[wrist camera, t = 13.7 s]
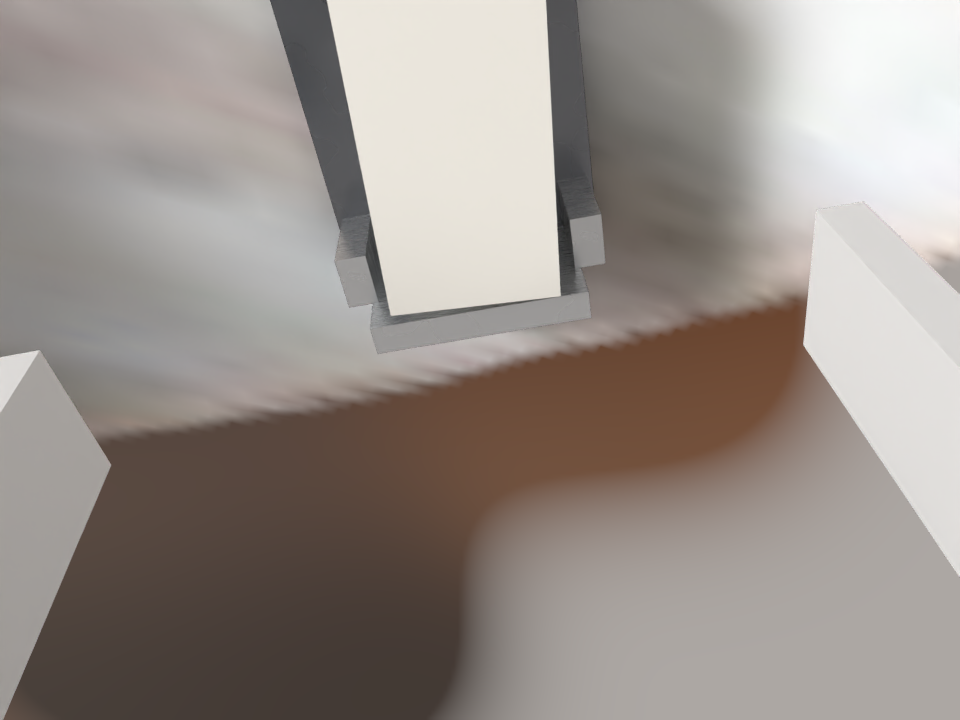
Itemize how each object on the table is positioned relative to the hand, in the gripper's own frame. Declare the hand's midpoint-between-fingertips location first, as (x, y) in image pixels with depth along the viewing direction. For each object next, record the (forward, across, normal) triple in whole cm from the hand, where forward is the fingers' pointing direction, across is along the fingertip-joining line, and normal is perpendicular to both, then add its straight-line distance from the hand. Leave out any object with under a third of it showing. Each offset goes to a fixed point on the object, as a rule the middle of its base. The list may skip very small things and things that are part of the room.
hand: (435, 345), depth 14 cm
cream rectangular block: (+14, +1, 0) cm, 14 cm away
